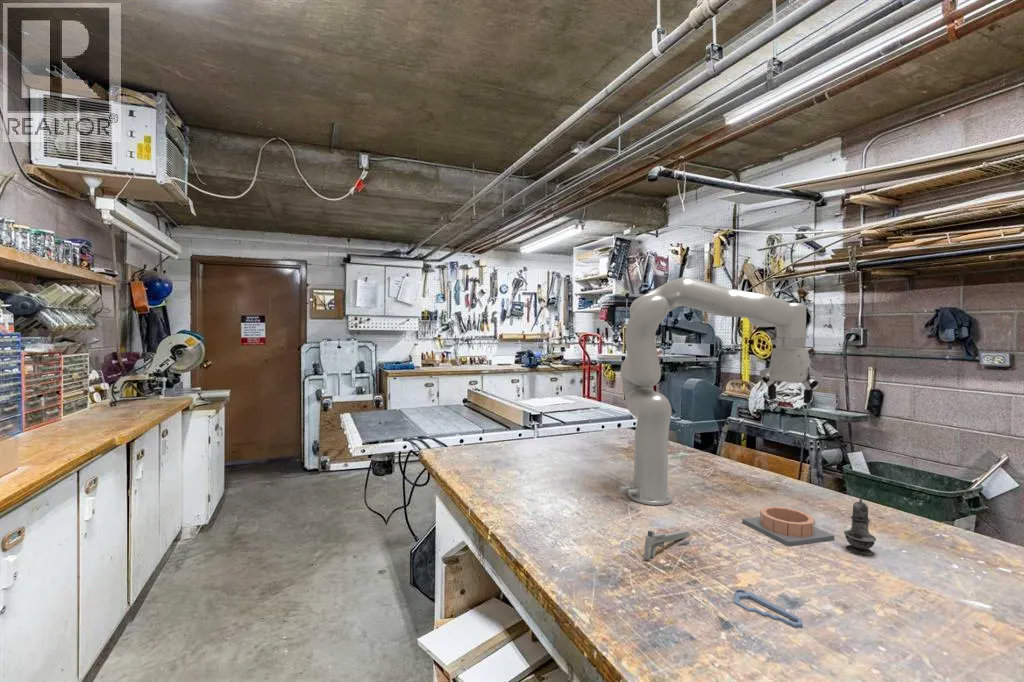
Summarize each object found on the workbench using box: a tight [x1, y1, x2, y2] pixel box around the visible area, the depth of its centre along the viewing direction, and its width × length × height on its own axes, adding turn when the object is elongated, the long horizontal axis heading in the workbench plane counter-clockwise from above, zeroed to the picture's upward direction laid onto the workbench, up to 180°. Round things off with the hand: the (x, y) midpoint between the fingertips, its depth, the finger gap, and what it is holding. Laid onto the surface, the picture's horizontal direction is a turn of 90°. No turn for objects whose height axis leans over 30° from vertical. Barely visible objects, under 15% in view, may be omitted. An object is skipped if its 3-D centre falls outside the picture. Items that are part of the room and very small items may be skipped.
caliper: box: [643, 529, 692, 562], centre depth 107 cm, size 20×1×6 cm, turn 135°
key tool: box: [733, 588, 803, 628], centre depth 82 cm, size 12×1×5 cm
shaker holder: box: [741, 505, 835, 547], centre depth 117 cm, size 14×14×4 cm
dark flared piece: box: [843, 498, 877, 557], centre depth 106 cm, size 6×6×12 cm
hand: (789, 401), depth 141 cm, fingers open, 9 cm apart
